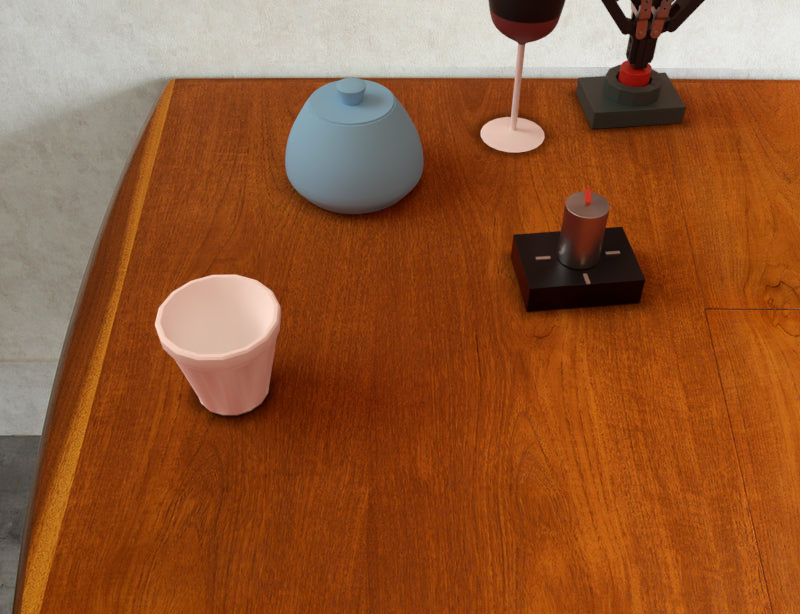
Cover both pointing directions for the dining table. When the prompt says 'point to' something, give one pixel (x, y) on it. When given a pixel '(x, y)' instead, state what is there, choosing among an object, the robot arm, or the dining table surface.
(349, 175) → the sugar bowl
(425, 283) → the dining table surface
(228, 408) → the cup
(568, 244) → the knob
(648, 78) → the button
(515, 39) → the wineglass
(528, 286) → the panel
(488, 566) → the dining table surface
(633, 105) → the switch block
